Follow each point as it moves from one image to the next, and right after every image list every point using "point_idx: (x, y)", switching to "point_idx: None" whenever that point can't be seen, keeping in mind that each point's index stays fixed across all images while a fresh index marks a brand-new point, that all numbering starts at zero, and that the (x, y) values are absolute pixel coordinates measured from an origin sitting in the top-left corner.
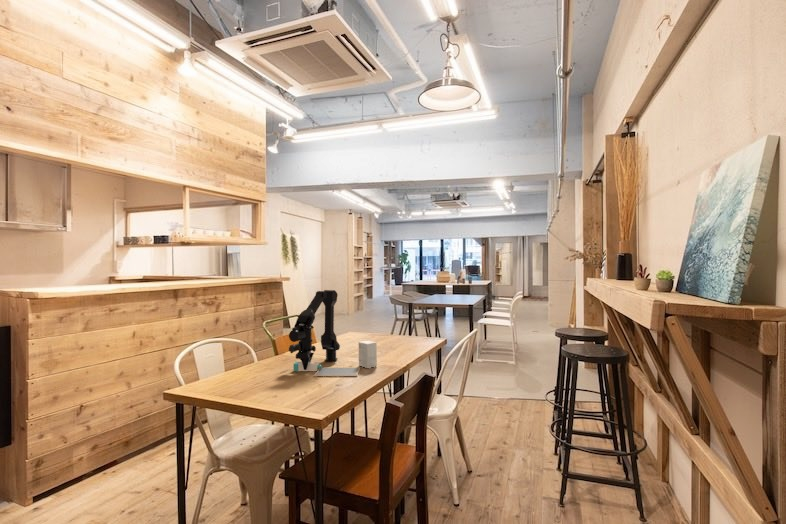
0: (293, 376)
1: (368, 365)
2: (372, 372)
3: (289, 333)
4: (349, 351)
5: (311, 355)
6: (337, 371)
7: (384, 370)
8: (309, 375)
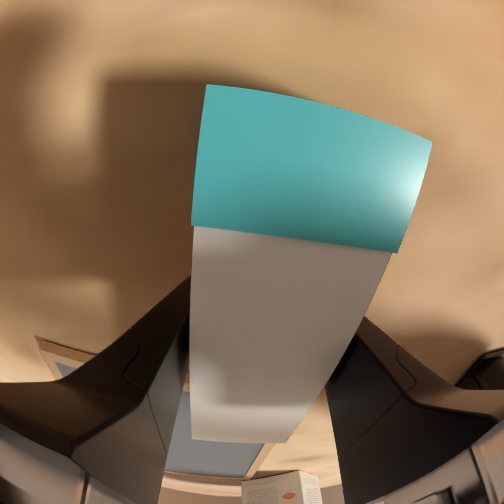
0: (9, 163)
1: (243, 492)
2: (189, 481)
3: None
4: None
5: (351, 485)
6: (174, 445)
7: (215, 490)
8: (66, 315)
